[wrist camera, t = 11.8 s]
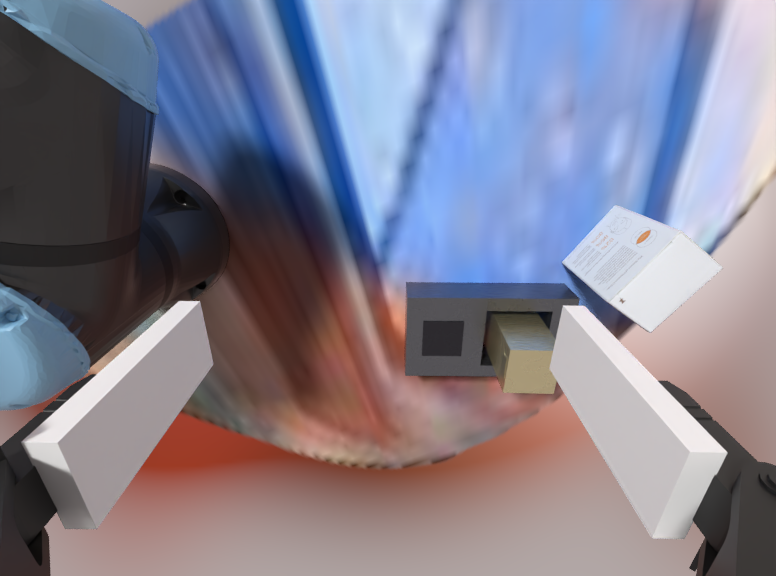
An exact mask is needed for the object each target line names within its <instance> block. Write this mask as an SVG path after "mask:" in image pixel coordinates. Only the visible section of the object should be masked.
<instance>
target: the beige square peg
mask: <svg viewBox="0 0 776 576" xmlns="http://www.w3.org/2000/svg"><path fill="white" fill-rule="evenodd" d="M555 340H556V339H555V338H554V336H553V335H552V333H551V332H550V331H549V329H548V328H547V326H546V325H545V323H544V322H543V321H542V319H541V318H540V316H539V315H538V313H537V312H536V311H487V314H486V322H485V331H484V339H483V342H484V345H485V347H486V350H487V352H488V355H489V358H490V360H491V363H492V365H493V368H494V371H495V373H496V376H497V378H498V381H499V384H500V386H501V389H502V392H503V393H537V394H554V390H555V386H556V382H557V380H556V379H555V377H554V375H553V374H552V372H551V370H550V369H549V368H550V363H551V359H552V354H553V349H554V345H555Z"/></svg>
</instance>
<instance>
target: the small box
mask: <svg viewBox="0 0 776 576" xmlns="http://www.w3.org/2000/svg"><path fill="white" fill-rule="evenodd" d="M562 263H563V264H564V265H565V266H566V267H567V268H568V269H569V270H571V271H572V272H573V273H574V274H575V275H576V276H578V277H579V278H580V279H581V280H582V281H583V282H584V283H586V284H587V285H588V286H589V287H590V288H591V289H592V290H593V291H595V292H596V293H597V294H598V295H599V296H600V297H601V298H603V299H604V300H605V301H606V302H608V303H609V304H610V305H612V306H613V307H614V308H616V309H617V310H618V311H620V312H621V313H622V314H624V315H625V316H626V317H628V318H629V319H631V320H632V321H633V322H635V323H636V324H638V325H639V326H640V327H642V328H643V329H645V330H646V331H647V332H649V333H651V332H652V331H653V330H654V329H655V328H656V327H658V326H659V325H660V324H661V323H662V322H663V321H664V320H665V319H667V318H668V317H669V316H670V315H671V314H672V313H673V312H674V311H676V310H677V309H678V308H679V307H680V306H681V305H682V304H683V303H684V302H686V300H688V299H689V298H690V297H691V296H692V295H693V294H695V293H696V292H697V291H698V290H699V289H700V288H701V287H702V286H703V285H705V284H706V283H707V282H708V281H709V280H710V279H711V278H712V277H714V276H715V275H716V274H717V273H718V272H719V271H720V270H722V269H723V268H722V266H721V265H720V264H719V263H717V262H716V261H715V260H714V259H713V258H712V257H711V256H710V255H708V254H707V253H706V252H705V251H704V250H703V249H702V248H700V247H699V246H698V245H697V244H696V243H695V242H694V241H692V240H691V239H690V238H689V237H688V236H687V235H685V234H684V233H683V232H682V231H680V230H677V229H675V228H672V227H670V226H667V225H665V224H662V223H660V222H657V221H655V220H652V219H650V218H648V217H645V216H643V215H640V214H638V213H635V212H632V211H630V210H627V209H625V208H622V207H620V206H617V205H615V206H614V207H613V208H612V209H611V210H610V211H609V212H608V213H607V214H606V215H605V217H604V218H603V219H602V220H601V221H600V222H599V223H598V224H597V225H596V226H595V227H594V228H593V229H592V230H591V232H590V233H589V234H588V235H587V236H586V237H585V238H584V239H583V240H582V241H581V242H580V243H579V244H578V245H577V247H576V248H575V249H574V250H573V251H572V252H571V253H570V254H569V255H568V256H567V257H566V258H565V259H564V260H563V262H562Z"/></svg>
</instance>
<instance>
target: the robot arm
mask: <svg viewBox="0 0 776 576" xmlns="http://www.w3.org/2000/svg"><path fill="white" fill-rule="evenodd" d="M158 63H159V57H158V51H157V48H156V45H155V43H154V41H153V39H152V37H151V36H150V34H149V33H148V32H147V30H146V29H145V28H144V27H143V26H142V25H141V24H140V23H138V22H137V21H136V20H134V19H133V18H132V17H130V16H128V15H126V14H125V13H123V12H121V11H120V10H118V9H116V8H114V7H112V6H111V5H109V4H107V3H105V2H103V1H101V0H0V410H16V409H22V408H27V407H30V406H32V405H36V404H39V403H42V402H44V401H46V400H47V399H49V398H51V397H52V396H54V395H55V394H57V393H58V392H60V391H61V390H63V389H64V388H66V387H67V386H69V385H70V384H71V383H73V382H74V381H77V380H79V379H81V378H82V377H83V376H84V375H85V374H86V373H88V370H89V369H90V367H92V366H93V365H94V364H95V363H96V362H97V361H99V360H100V359H101V358H102V357H103V356H104V355H106V354H107V353H108V352H109V351H110V350H111V349H113V348H114V347H115V346H116V345H117V344H118V343H120V342H121V341H122V340H123V339H124V338H125V337H127V336H128V335H129V334H130V333H131V332H132V331H134V330H135V329H136V328H137V327H138V326H139V325H141V324H142V323H143V322H144V321H145V320H146V319H148V318H149V317H150V316H151V315H152V314H153V313H155V312H156V311H157V310H160V309H163V308H167V307H171V306H173V307H172V308H171V309H170V310H168V311H167V312H166V313H165V314H164V315H163V316H162V317H161V318H159V319H158V320H157V321H156V322H155V323H154V324H153V325H152V326H151V327H149V328H148V329H147V330H146V331H145V332H144V333H143V334H142V335H140V336H139V337H138V338H137V339H136V340H135V341H134V342H133V343H131V344H130V345H129V346H128V347H127V348H126V349H125V350H124V351H123V352H121V353H120V354H119V355H118V356H117V357H116V358H115V359H114V360H112V361H111V362H110V363H109V364H108V365H107V366H106V367H105V368H103V369H102V370H101V371H100V372H99V373H98V374H91V375H90V376H88V377H86V378H84V379H83V380H81V381H79V382H77V383H75V384H73V385H72V386H70V387H69V388H68V389H67V390H66V391H65V392H63V393H62V394H61V395H60V396H59V397H58V398H57V399H56V401H53V402H52V403H51V404H50V405H48V406H47V407H46V408H45V409H44V411H43V412H41V413H39V414H38V415H37V416H35V417H34V418H33V419H32V420H31V421H30V422H28V423H27V424H26V425H25V426H24V427H23V428H21V429H20V430H19V431H18V432H17V433H16V434H14V436H12V437H11V438H10V439H9V440H7V441H6V442H5V443H4V444H3V445H2V446H0V576H50V556H49V555H50V554H49V536H48V534H47V532H46V530H45V528H44V526H45V525H46V524H47V523H48V521H49V520H50V519H51V518H52V517H53V515H54V514H55V513H56V512H57V514H58V516H59V518H60V520H61V522H62V524H63V526H64V528H65V529H98V527H99V526H100V524H101V523H102V522H103V520H104V519H105V517H106V516H107V514H108V513H109V511H110V510H111V509H112V507H113V506H114V504H115V503H116V502H117V500H118V499H119V497H120V496H121V494H122V493H123V492H124V490H125V489H126V488H127V486H128V485H129V483H130V482H131V481H132V479H133V478H134V476H135V474H136V473H137V472H138V470H139V469H140V468H141V466H142V465H143V464H144V462H145V461H146V459H147V458H148V456H149V455H150V454H151V452H152V451H153V449H154V448H155V447H156V445H157V444H158V442H159V441H160V439H161V438H162V436H163V435H164V434H165V432H166V431H167V430H168V428H169V427H170V425H171V424H172V422H173V421H174V420H175V418H176V417H177V415H178V414H179V413H180V411H181V410H182V408H183V407H184V405H185V404H186V403H187V401H188V400H189V398H190V397H191V396H192V394H193V393H194V391H195V390H196V388H197V387H198V386H199V384H200V383H201V381H202V380H203V379H204V377H205V376H206V374H207V373H208V371H209V370H210V369H211V367H212V366H213V359H212V354H211V350H210V345H209V340H208V336H207V331H206V326H205V322H204V317H203V312H202V308H201V303H200V301H191V300H193V299H195V298H197V297H198V296H200V295H201V294H203V293H204V292H205V291H207V290H208V289H209V288H210V287H211V286H212V285H213V284H214V283H215V282H216V281H217V280H218V279H219V277H220V276H221V275H222V273H223V271H224V269H225V267H226V264H227V261H228V256H229V236H228V231H227V227H226V224H225V221H224V219H223V217H222V215H221V213H220V211H219V209H218V207H217V206H216V204H215V203H214V201H213V200H212V199H211V198H210V196H209V195H208V194H207V193H206V192H205V191H204V190H203V189H202V188H201V187H200V186H199V185H197V184H196V183H195V182H194V181H192V180H191V179H189V178H188V177H186V176H185V175H183V174H181V173H179V172H177V171H175V170H173V169H170V168H168V167H165V166H161V165H157V164H151V163H150V156H151V148H152V140H153V132H154V125H155V117H156V115H159V107H158V106H157V104H156V95H157V79H158ZM549 369H550V370H551V372H552V374H553V375H554V377H555V379H556V380H557V382H558V384H559V385H560V387H561V389H562V390H563V392H564V394H565V395H566V397H567V399H568V400H569V402H570V404H571V405H572V407H573V408H574V410H575V412H576V414H577V415H578V417H579V418H580V420H581V422H582V424H583V425H584V427H585V428H586V430H587V432H588V433H589V435H590V437H591V438H592V440H593V442H594V443H595V445H596V447H597V448H598V450H599V452H600V453H601V455H602V457H603V458H604V460H605V461H606V463H607V465H608V467H609V468H610V470H611V472H612V473H613V475H614V476H615V478H616V480H617V482H618V483H619V485H620V486H621V488H622V490H623V491H624V493H625V495H626V496H627V498H628V500H629V501H630V503H631V505H632V506H633V508H634V509H635V511H636V513H637V515H638V516H639V518H640V520H641V521H642V523H643V525H644V526H645V528H646V529H647V531H648V533H649V535H650V536H651V538H654V539H659V538H660V539H685V537H686V535H687V533H688V531H689V529H690V527H691V525H692V523H693V521H694V523H695V524H696V525H697V527H698V528H699V529H700V531H701V532H702V534H703V535H704V536H705V539H704V541H703V543H702V545H701V547H700V549H699V551H698V553H697V554H696V556H695V558H694V560H693V562H692V564H691V566H690V569H691V570H693V571H696V569H697V574H696V576H776V466H775V465H772V464H769V463H765V462H757V460H756V459H754V458H753V456H751V454H749V453H748V452H747V451H746V450H745V449H744V448H743V447H742V446H741V445H740V444H739V443H738V442H737V441H736V440H735V439H734V438H733V437H732V436H731V435H730V434H729V433H728V432H726V430H725V429H724V428H722V427H721V426H720V425H719V424H718V423H717V422H716V421H713V420H712V417H711V416H710V415H709V414H708V413H707V412H706V411H705V410H704V409H701V407H700V405H698V403H697V402H695V400H694V399H692V398H691V397H690V396H689V395H688V394H687V393H686V392H684V391H683V390H681V389H680V388H678V387H676V386H675V385H673V384H671V383H670V382H668V381H657V380H656V379H655V378H654V377H653V376H652V375H651V374H650V373H649V372H648V370H647V369H646V368H645V367H644V366H643V365H641V363H640V362H639V361H638V360H637V359H636V358H635V357H634V356H633V355H632V354H631V353H630V352H629V351H628V350H627V349H626V348H625V347H624V346H623V345H622V344H621V343H620V342H619V341H618V340H617V339H616V338H615V337H614V336H613V335H612V334H611V333H610V332H609V331H608V329H607V328H606V327H605V326H604V325H603V324H602V323H601V322H600V321H599V320H598V319H597V318H596V317H595V316H594V315H593V314H592V313H591V312H590V311H589V310H588V309H587V308H586V307H585V306H564V305H563V308H562V312H561V317H560V322H559V326H558V331H557V336H556V340H555V345H554V349H553V354H552V359H551V363H550V368H549Z"/></svg>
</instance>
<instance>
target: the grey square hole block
mask: <svg viewBox="0 0 776 576" xmlns="http://www.w3.org/2000/svg"><path fill="white" fill-rule="evenodd" d="M578 304H579V298H578V297H577V296H576V295H575V294H574V293H573V292H572V291H571V290H570V289H569V288H568V287H567V286H566V285H565V284H548V283H416V282H406V314H405V375H406V376H496V373H495V371H494V368H493V365H492V363H491V360H490V358H489V355H488V352H487V350H486V347H485V346H483V339H484V331H485V322H486V314H487V311H537V313H538V315H539V316H540V318H541V319H542V321H543V322H544V323H545V325H546V326H547V328H548V329H549V331H550V332H551V333H552V335H553V336H554V338H555V339H556V336H557V331H558V326H559V322H560V317H561V312H562V308H563V305H564V306H578Z"/></svg>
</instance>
